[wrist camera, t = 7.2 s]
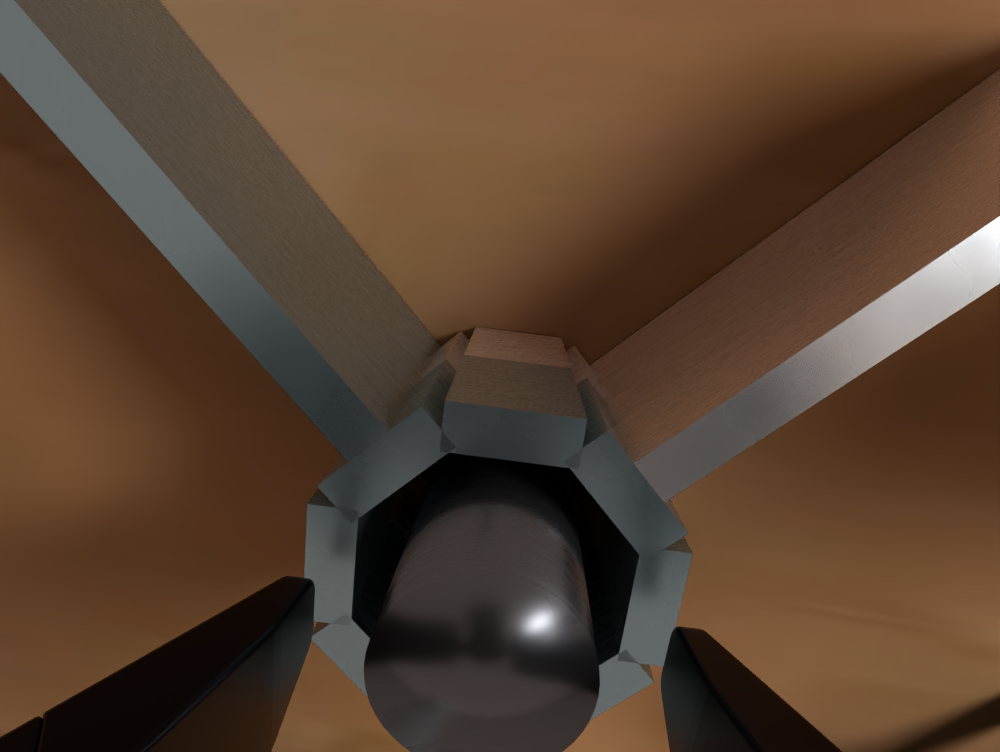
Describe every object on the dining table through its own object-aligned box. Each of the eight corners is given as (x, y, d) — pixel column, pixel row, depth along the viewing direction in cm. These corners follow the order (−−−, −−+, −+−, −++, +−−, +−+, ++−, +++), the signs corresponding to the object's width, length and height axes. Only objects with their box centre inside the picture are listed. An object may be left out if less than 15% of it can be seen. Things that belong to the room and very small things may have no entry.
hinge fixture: (662, -757, 10) (867, -2168, 4) (1130, 160, 13) (1613, 117, 7) (-25, 15, 13) (-458, -145, 7) (484, 590, 16) (463, 794, 11)
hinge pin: (516, 366, 15) (501, 531, 7) (588, 457, 15) (646, 703, 8) (423, 435, 15) (315, 658, 8) (495, 520, 16) (463, 809, 8)
